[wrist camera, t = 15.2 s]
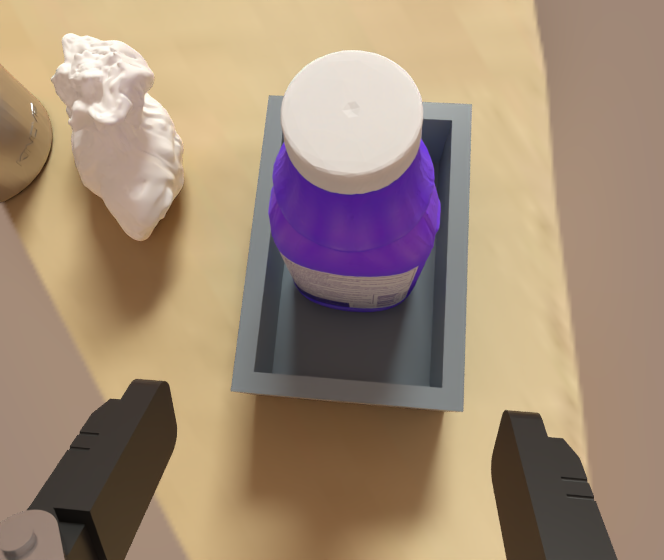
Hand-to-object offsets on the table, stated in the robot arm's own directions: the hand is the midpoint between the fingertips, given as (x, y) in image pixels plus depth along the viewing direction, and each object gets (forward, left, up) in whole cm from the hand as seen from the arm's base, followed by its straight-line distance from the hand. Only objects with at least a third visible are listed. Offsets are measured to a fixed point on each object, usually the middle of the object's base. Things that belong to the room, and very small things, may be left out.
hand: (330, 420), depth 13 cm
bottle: (0, +8, -18) cm, 19 cm away
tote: (0, +9, -18) cm, 20 cm away
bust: (-15, +15, -19) cm, 28 cm away
